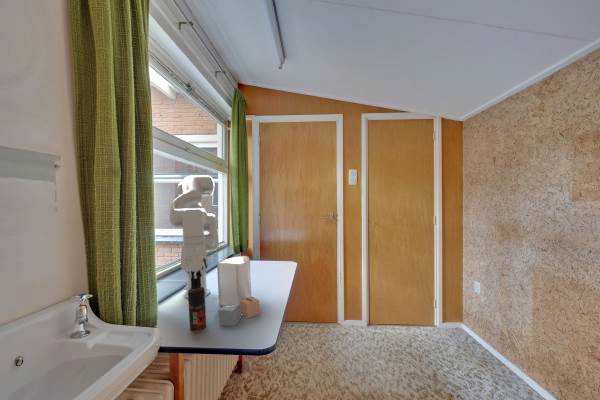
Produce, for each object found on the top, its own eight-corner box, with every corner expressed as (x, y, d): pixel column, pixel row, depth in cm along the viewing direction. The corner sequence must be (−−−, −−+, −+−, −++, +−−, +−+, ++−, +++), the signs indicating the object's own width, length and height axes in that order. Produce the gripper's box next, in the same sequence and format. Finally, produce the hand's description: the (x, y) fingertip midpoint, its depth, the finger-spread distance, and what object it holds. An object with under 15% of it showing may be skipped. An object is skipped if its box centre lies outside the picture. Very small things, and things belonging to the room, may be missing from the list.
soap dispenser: (217, 306, 124) (215, 259, 123) (238, 295, 136) (236, 252, 136) (243, 311, 117) (240, 261, 116) (262, 299, 129) (260, 254, 129)
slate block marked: (219, 325, 105) (218, 309, 105) (226, 318, 111) (226, 303, 111) (233, 325, 104) (232, 310, 104) (240, 318, 109) (239, 303, 109)
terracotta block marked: (240, 314, 114) (239, 299, 114) (252, 309, 118) (251, 295, 118) (247, 318, 110) (246, 303, 109) (259, 313, 114) (259, 299, 114)
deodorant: (190, 333, 99) (188, 293, 99) (189, 326, 104) (187, 288, 104) (206, 329, 101) (204, 290, 101) (205, 323, 107) (203, 286, 107)
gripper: (172, 241, 103) (174, 288, 103) (199, 242, 96) (202, 293, 96) (188, 238, 109) (190, 283, 109) (215, 239, 102) (217, 287, 102)
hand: (196, 287), depth 102 cm, fingers closed
